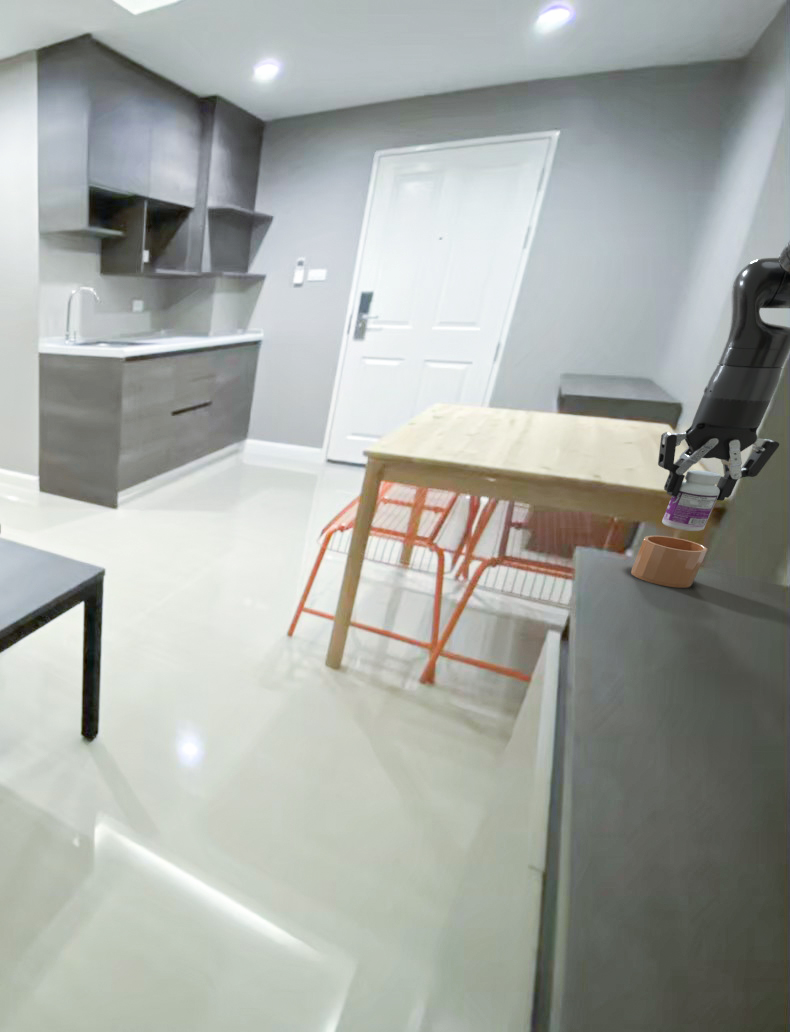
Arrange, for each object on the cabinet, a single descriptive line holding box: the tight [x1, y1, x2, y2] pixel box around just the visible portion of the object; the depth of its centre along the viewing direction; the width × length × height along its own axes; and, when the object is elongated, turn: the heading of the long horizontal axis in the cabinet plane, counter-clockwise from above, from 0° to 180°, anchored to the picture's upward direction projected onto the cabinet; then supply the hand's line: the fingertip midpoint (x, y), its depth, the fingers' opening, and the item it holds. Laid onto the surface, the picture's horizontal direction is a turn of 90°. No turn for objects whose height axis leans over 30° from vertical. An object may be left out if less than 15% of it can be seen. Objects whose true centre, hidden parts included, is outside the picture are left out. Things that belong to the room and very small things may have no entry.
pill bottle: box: [661, 469, 722, 532], centre depth 103 cm, size 5×5×10 cm
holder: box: [630, 535, 708, 589], centre depth 108 cm, size 8×8×7 cm
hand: (694, 496), depth 103 cm, fingers closed on pill bottle, 5 cm apart
